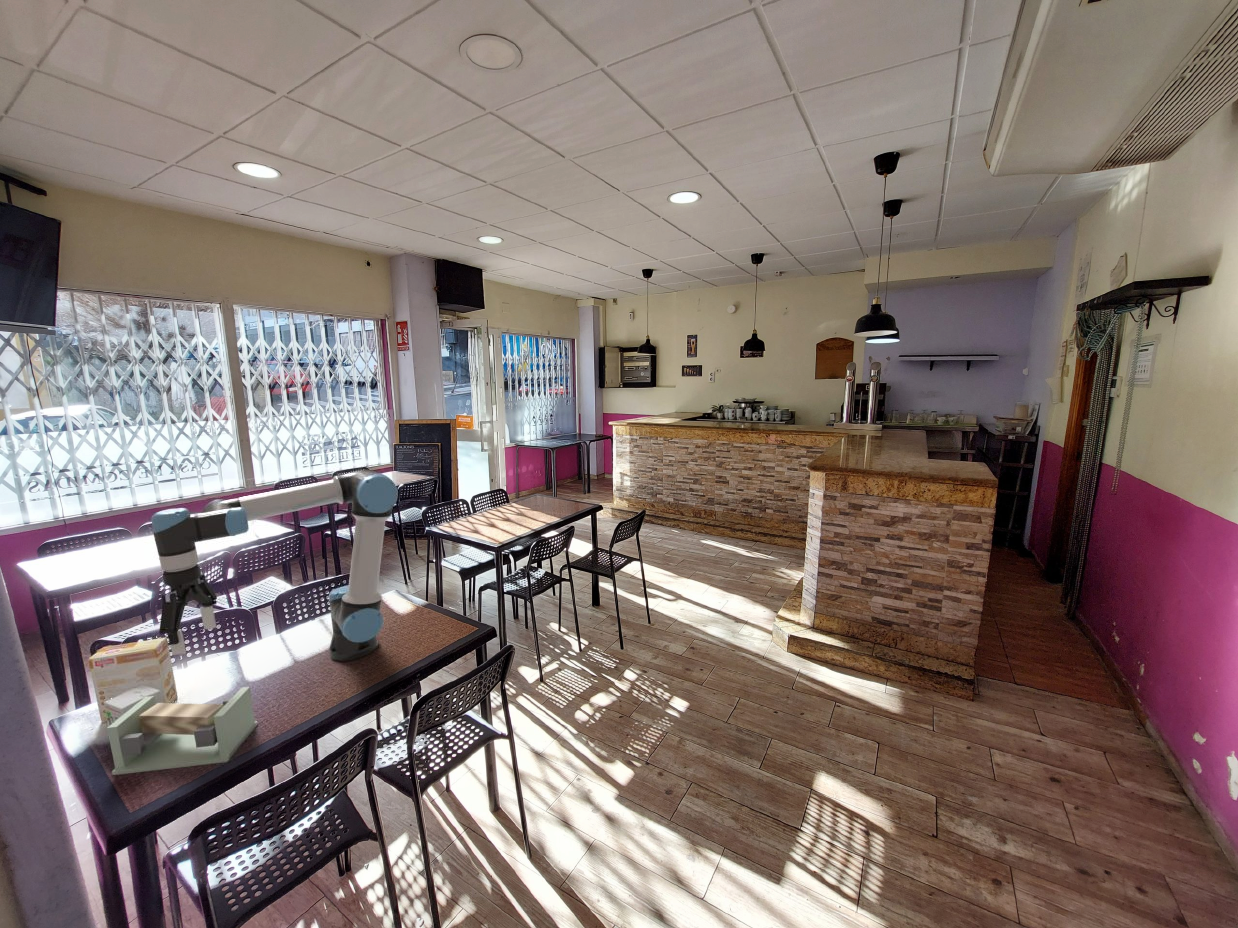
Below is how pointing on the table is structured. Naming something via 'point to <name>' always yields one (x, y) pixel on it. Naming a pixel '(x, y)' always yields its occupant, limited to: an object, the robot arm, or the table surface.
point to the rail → (178, 718)
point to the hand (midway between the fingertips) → (195, 640)
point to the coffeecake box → (132, 670)
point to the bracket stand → (180, 738)
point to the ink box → (128, 701)
